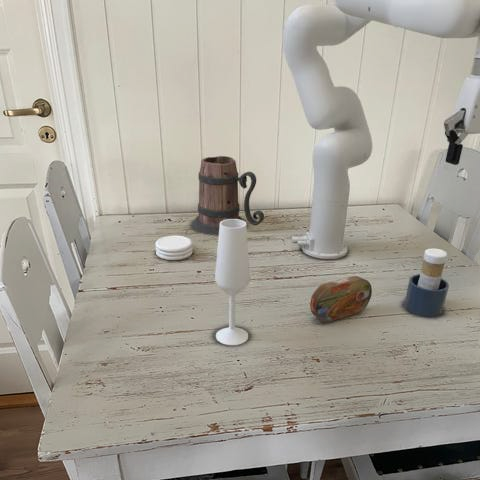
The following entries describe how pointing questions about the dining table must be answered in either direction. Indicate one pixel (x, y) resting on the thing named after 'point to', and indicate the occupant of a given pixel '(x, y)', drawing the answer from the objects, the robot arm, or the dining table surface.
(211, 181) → the tankard
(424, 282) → the sprinkles bottle
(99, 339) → the dining table surface
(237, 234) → the champagne flute
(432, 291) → the cup
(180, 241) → the white round stack
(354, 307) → the tin
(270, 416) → the dining table surface
